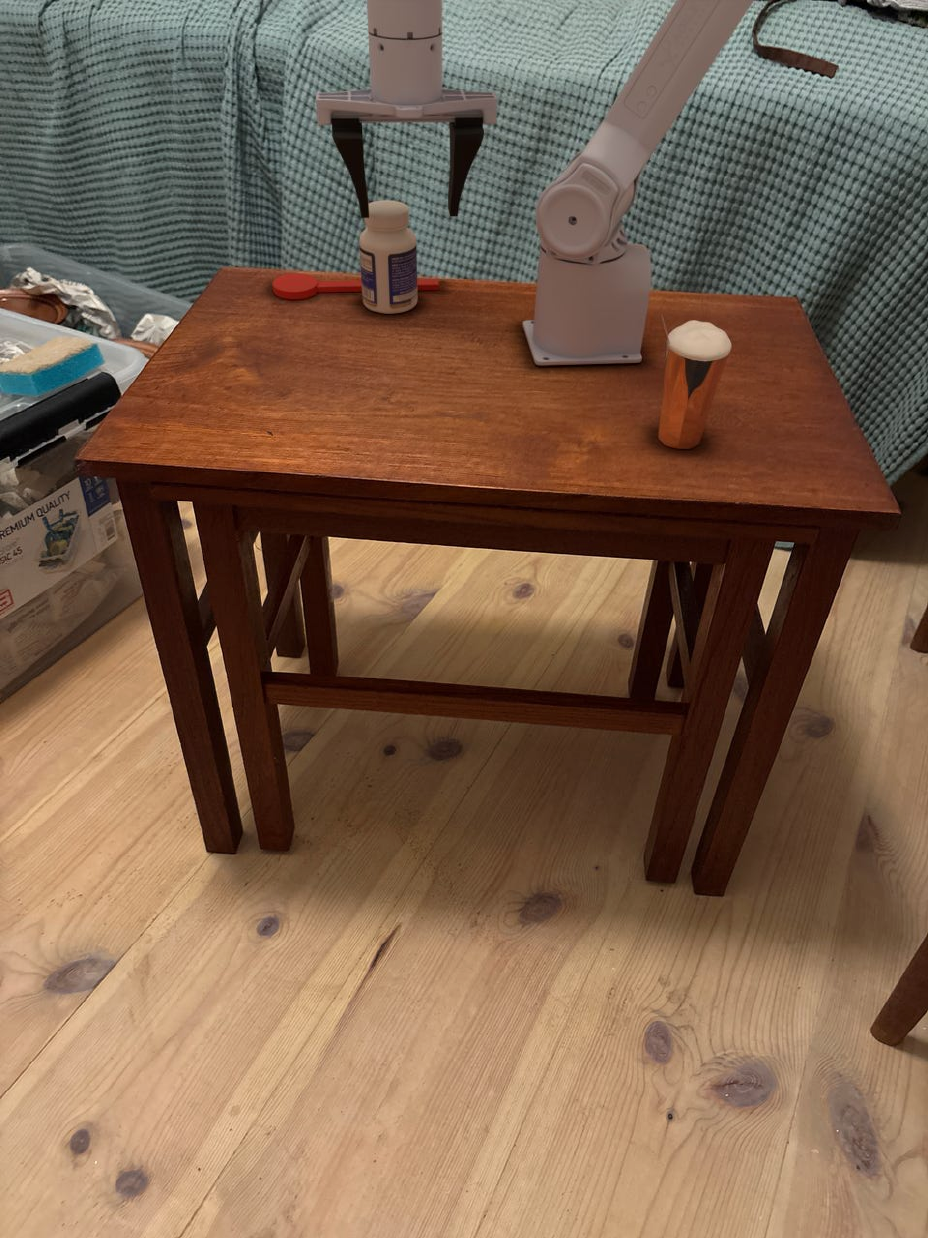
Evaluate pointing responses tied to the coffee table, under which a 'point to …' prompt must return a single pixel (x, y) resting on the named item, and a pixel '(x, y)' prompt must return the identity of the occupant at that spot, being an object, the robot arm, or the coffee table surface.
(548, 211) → the robot arm
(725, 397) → the coffee table surface
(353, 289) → the red spoon
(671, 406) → the milkshake
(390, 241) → the pill bottle
